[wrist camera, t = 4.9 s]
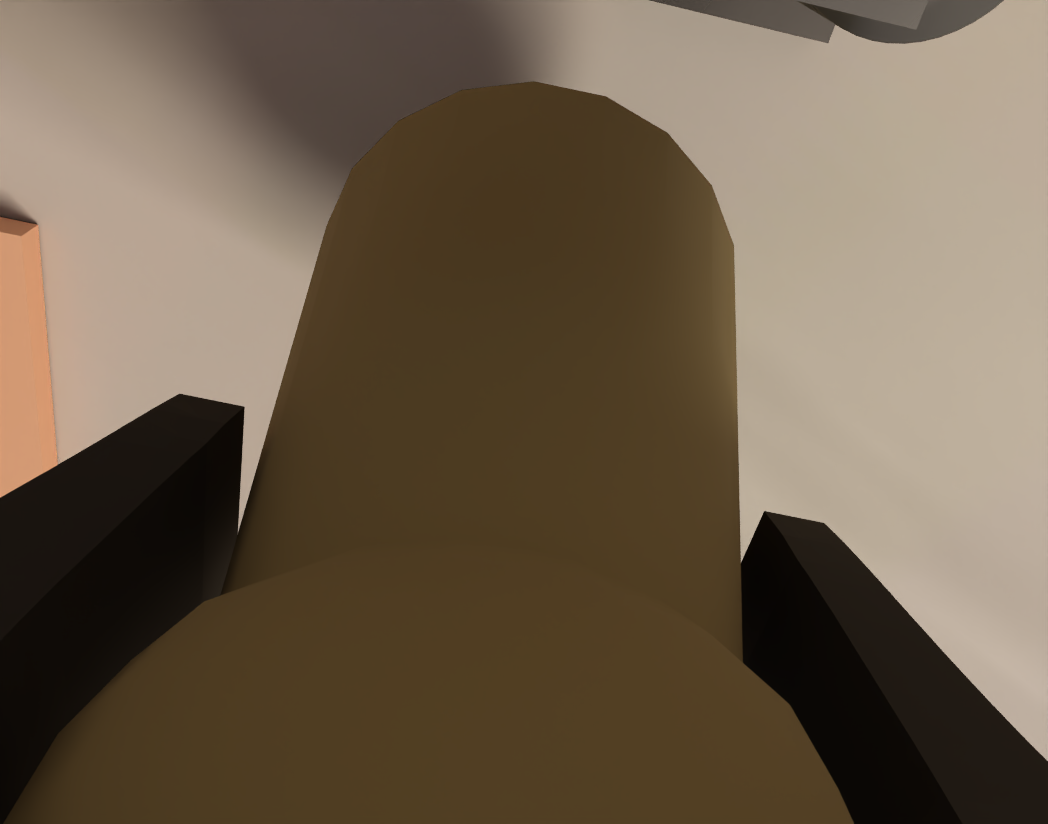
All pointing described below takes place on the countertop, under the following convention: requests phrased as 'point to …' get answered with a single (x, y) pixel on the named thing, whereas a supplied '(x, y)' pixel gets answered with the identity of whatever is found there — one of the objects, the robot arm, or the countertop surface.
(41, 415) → the mat
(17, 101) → the countertop surface
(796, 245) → the countertop surface
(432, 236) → the cork
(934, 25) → the bent rail
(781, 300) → the countertop surface
